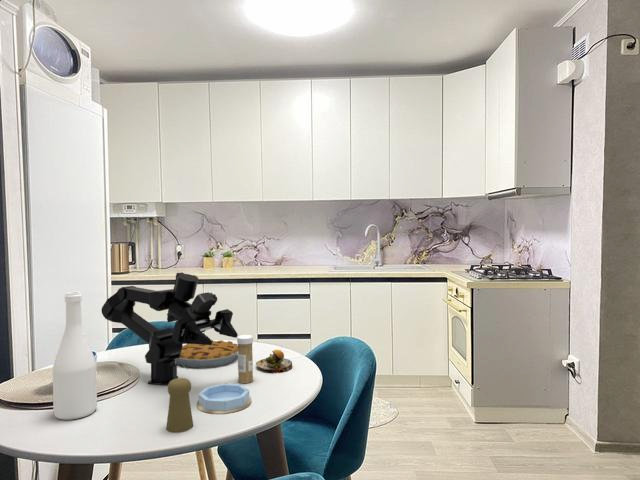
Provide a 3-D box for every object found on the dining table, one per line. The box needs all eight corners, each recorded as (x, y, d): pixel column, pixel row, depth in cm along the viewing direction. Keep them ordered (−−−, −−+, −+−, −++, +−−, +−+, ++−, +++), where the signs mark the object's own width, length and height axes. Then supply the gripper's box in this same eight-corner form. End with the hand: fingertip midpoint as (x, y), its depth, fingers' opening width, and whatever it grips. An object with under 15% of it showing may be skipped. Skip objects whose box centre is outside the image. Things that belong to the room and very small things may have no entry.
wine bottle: (67, 424, 109) (64, 296, 108) (45, 415, 114) (42, 293, 113) (105, 410, 117) (102, 291, 116) (83, 402, 122) (80, 288, 121)
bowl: (192, 409, 117) (192, 399, 117) (211, 391, 128) (211, 382, 128) (238, 412, 115) (238, 402, 115) (253, 394, 127) (253, 385, 126)
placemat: (187, 412, 116) (187, 410, 116) (209, 391, 130) (209, 390, 130) (241, 415, 114) (241, 414, 114) (258, 394, 127) (258, 393, 127)
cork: (168, 434, 104) (167, 385, 103) (164, 424, 109) (163, 377, 108) (196, 429, 106) (195, 381, 106) (190, 419, 112) (189, 373, 111)
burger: (259, 362, 158) (259, 340, 157) (293, 362, 157) (293, 341, 157) (252, 374, 146) (252, 350, 145) (290, 374, 145) (290, 350, 145)
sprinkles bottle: (255, 381, 138) (255, 336, 137) (241, 384, 135) (241, 338, 135) (249, 377, 142) (248, 333, 141) (235, 380, 139) (234, 335, 138)
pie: (243, 350, 172) (243, 337, 172) (234, 369, 150) (234, 354, 150) (183, 351, 171) (183, 337, 171) (166, 370, 149) (165, 354, 149)
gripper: (165, 292, 122) (204, 318, 114) (218, 284, 137) (255, 306, 129) (157, 330, 124) (194, 358, 116) (209, 318, 140) (246, 342, 132)
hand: (224, 339), depth 124 cm, fingers open, 9 cm apart
